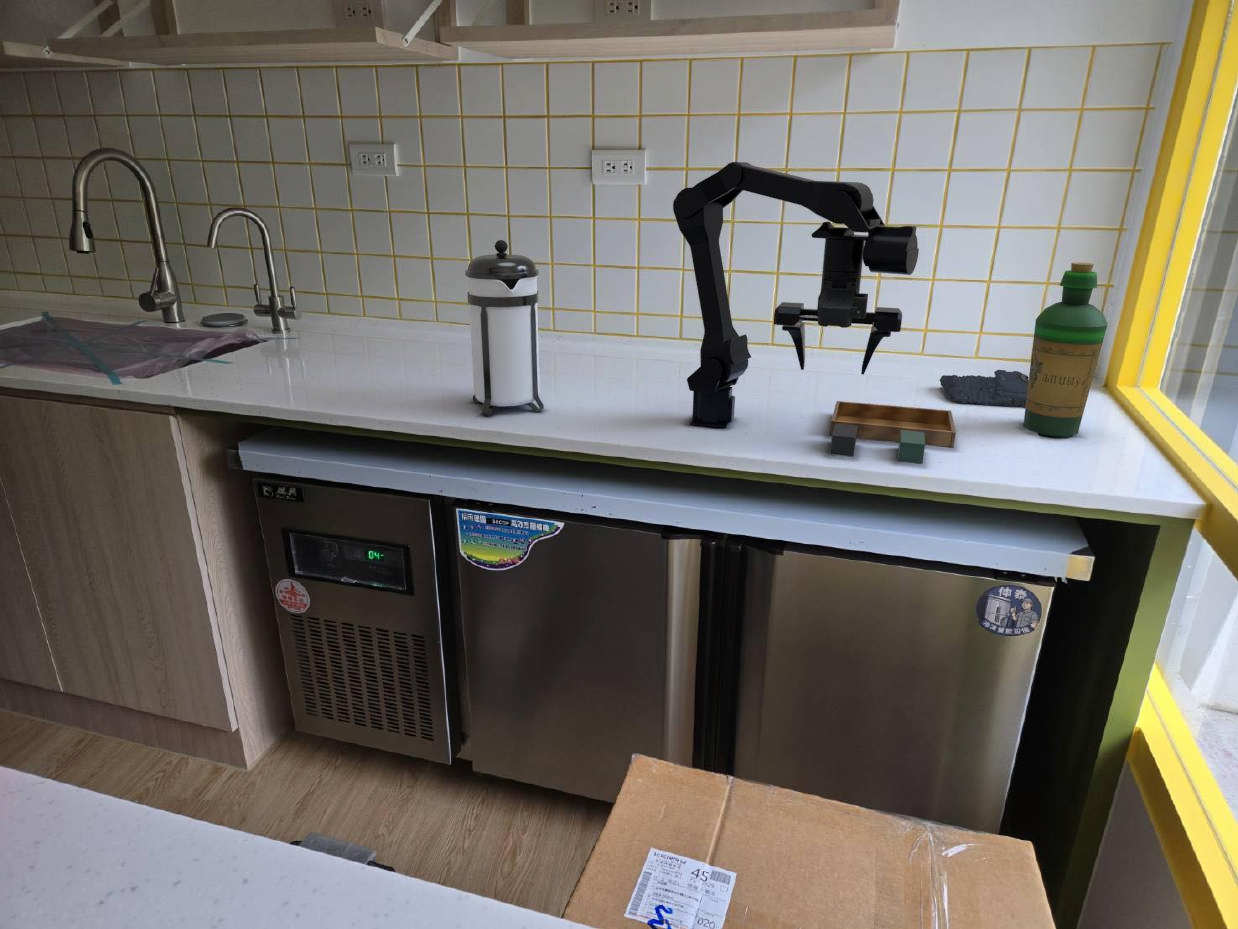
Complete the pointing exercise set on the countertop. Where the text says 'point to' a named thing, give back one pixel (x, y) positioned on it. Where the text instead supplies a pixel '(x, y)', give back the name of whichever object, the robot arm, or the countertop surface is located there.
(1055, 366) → the bottle
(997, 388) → the dark slate chunk
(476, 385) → the coffee press
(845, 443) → the dark grey block
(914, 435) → the green block
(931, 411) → the wooden tray
